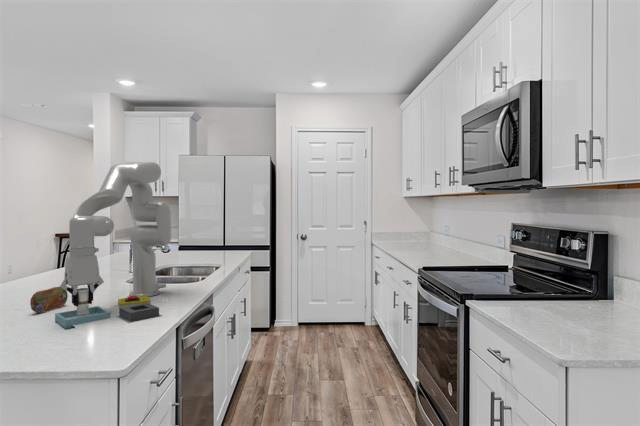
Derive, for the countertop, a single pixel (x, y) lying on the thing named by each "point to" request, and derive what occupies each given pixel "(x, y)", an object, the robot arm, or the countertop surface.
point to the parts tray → (69, 323)
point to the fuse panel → (138, 312)
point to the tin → (48, 299)
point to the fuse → (83, 301)
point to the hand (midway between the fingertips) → (82, 303)
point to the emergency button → (133, 301)
